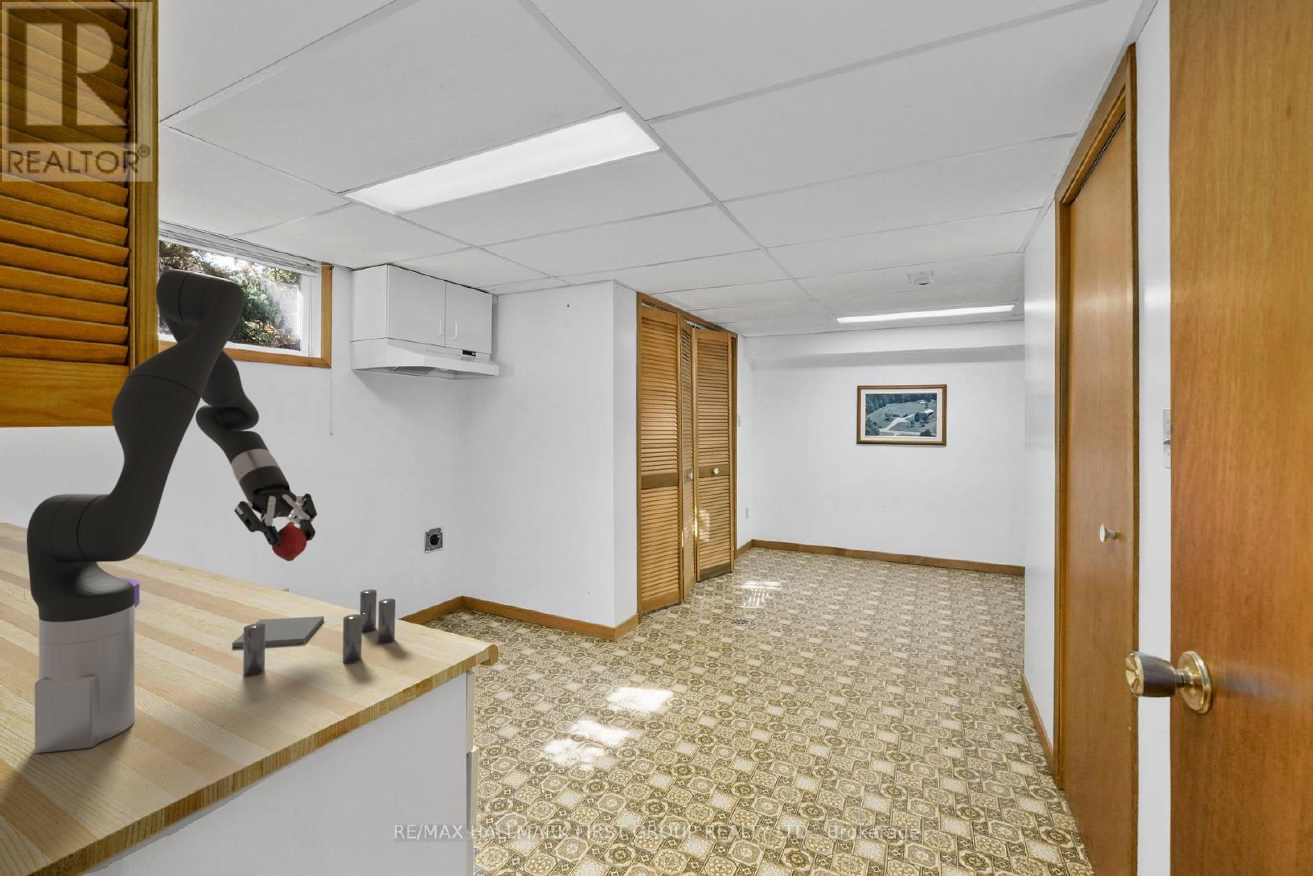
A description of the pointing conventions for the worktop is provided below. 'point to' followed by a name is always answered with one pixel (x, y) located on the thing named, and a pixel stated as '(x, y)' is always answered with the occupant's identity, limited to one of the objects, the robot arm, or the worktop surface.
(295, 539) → the onion
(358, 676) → the worktop surface
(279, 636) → the mat
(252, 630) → the spacer field
